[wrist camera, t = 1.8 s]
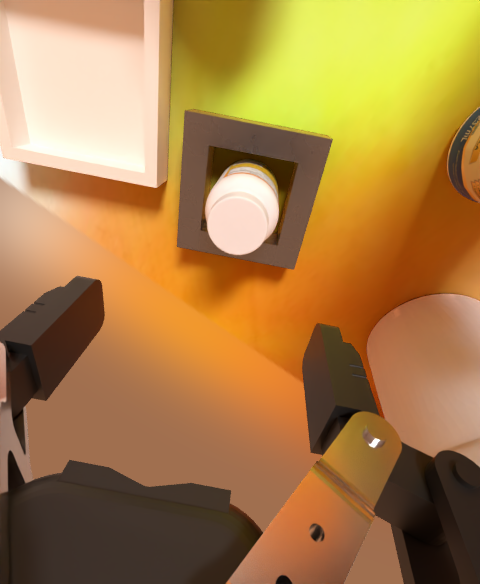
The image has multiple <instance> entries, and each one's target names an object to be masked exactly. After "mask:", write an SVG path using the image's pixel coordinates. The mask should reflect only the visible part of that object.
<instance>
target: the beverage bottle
mask: <svg viewBox="0 0 480 584" xmlns="http://www.w3.org/2000/svg"><path fill="white" fill-rule="evenodd" d="M447 172H448V176H449V179H450V182H451V184H452V185H453V187H454V188H455V189H456V190H457V191H458V192H459V193H460V194H461V195H463V196H464V197H466V198H468V199H470V200H472V201H475V202H478V203H480V106H479V107H478V108H477V109H476V110H475V111H474V112H473V113H472V114H471V115H470V116H469V117H468V118H467V119H466V120H465V121H464V123H463V124H462V125H461V127H460V128H459V130H458V131H457V133H456V135H455V137H454V138H453V141H452V143H451V146H450V149H449V152H448V157H447Z"/></svg>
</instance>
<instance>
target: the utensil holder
mask: <svg viewBox="0 0 480 584" xmlns="http://www.w3.org/2000/svg"><path fill="white" fill-rule="evenodd" d="M367 357H368V361H369V365H370V368H371V372H372V375H373V379H374V383H375V386H376V390H377V394H378V397H379V401H380V404H381V407H382V411H383V414H384V417H385V420H386V421H388V422H389V423H390V424H391V425H392V426H393V428H394V429H395V430H396V432H397V433H398V435H399V437H400V440H401V441H402V442H403V443H405V444H407V445H408V446H411V447H413V448H415V449H417V450H419V451H421V452H423V453H425V454H427V455H429V456H431V457H433V458H434V457H435V456H436V455H437V454H438V453H439V452H440V451H443V450H451V451H455V452H458V453H460V454H462V455H464V456H466V457H468V458H469V459H470V460H472V461H473V462H474V463H476V464H477V465H478V466H479V467H480V301H479V300H476V299H474V298H471V297H468V296H464V295H458V294H434V295H428V296H424V297H420V298H416V299H414V300H411V301H409V302H406V303H404V304H402V305H400V306H398V307H397V308H395V309H393V310H392V311H390V312H389V313H387V314H386V315H385V316H384V317H383V318H382V319H381V320H380V321H379V322H378V323H377V324H376V326H375V327H374V328H373V330H372V331H371V333H370V335H369V338H368V342H367Z"/></svg>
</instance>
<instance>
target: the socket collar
mask: <svg viewBox="0 0 480 584" xmlns="http://www.w3.org/2000/svg"><path fill="white" fill-rule="evenodd" d="M332 140H333V139H331V138H330V137H329V136H327V135H323V134H318V133H313V132H308V131H303V130H298V129H293V128H288V127H283V126H277V125H272V124H267V123H262V122H257V121H252V120H247V119H242V118H237V117H232V116H227V115H222V114H216V113H211V112H206V111H201V110H196V109H191V110H185V117H184V135H183V152H182V169H181V186H180V204H179V221H178V238H177V247H181V248H186V249H191V250H196V251H201V252H206V253H212V254H217V255H222V256H227V257H232V258H237V259H242V260H247V261H253V262H258V263H263V264H268V265H273V266H278V267H283V268H288V269H294V268H295V264H296V261H297V258H298V254H299V251H300V248H301V244H302V241H303V237H304V234H305V231H306V227H307V224H308V221H309V217H310V214H311V211H312V207H313V204H314V200H315V197H316V194H317V190H318V187H319V184H320V180H321V177H322V174H323V170H324V167H325V163H326V160H327V157H328V153H329V150H330V147H331V143H332ZM215 147H220V148H225V149H230V150H235V151H240V152H245V153H251V154H256V155H261V156H266V157H271V158H276V159H281V160H286V161H291V162H295V165H294V169H293V173H292V177H291V181H290V185H289V189H288V193H287V197H286V201H285V205H284V209H283V213H282V217H281V221H280V226H279V230H278V233H272V234H271V235H270V236H269V237H268V238H267V239H266V240H265V241H264V242H263V243H262V245H261V246H260V247H259V248H257V249H256V250H255V251H253V252H251V253H248V254H244V255H233V254H229V253H226V252H224V251H222V250H221V249H219V248H218V247H217V246H216V245H215V244H214V243H213V241H212V240H211V238H210V236H209V233H208V230H207V221H206V216H205V206H206V201H207V198H208V195H209V193H210V185H211V176H212V167H213V158H214V149H215Z"/></svg>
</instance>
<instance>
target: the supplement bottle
mask: <svg viewBox="0 0 480 584" xmlns="http://www.w3.org/2000/svg"><path fill="white" fill-rule="evenodd" d="M205 216H206V221H207V230H208V233H209V236H210V238H211V240H212V241H213V243H214V244H215V245H216V246H217V247H218V248H219V249H221V250H222V251H224V252H226V253H229V254H233V255H244V254H248V253H251V252H253V251H255V250H256V249H257V248H259V247H260V246H261V245H262V243H263V242H264V241H265V240H266V239H267V238H268V237H269V236H270V235H271V234H272V233H273V231H274V229H275V227H276V225H277V222H278V216H279V197H278V184H277V180H276V178H275V176H274V174H273V172H272V171H271V170H270V168H269V167H267V166H266V165H265V164H263V163H261V162H259V161H256V160H252V159H244V160H240V161H237V162H235V163H233V164H232V165H230V166H229V167H228V168H227V169H226V170H225V171H224V173H223V174H222V175H221V177H220V178H219V180H218V181H217V183H216V184H215V185H214V187H213V188H212V190H211V191H210V193H209V195H208V198H207V201H206V206H205Z"/></svg>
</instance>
